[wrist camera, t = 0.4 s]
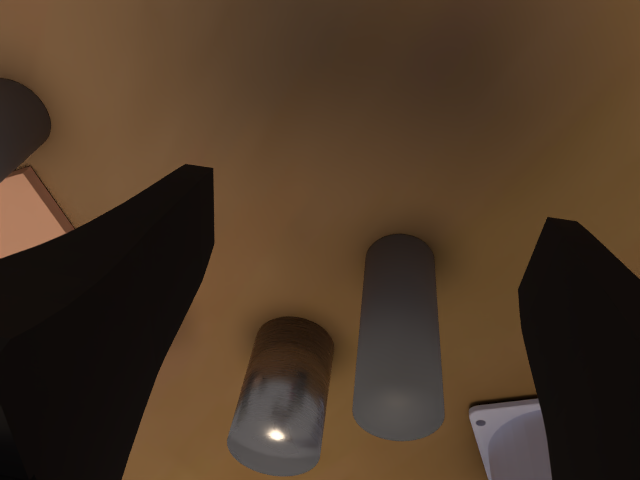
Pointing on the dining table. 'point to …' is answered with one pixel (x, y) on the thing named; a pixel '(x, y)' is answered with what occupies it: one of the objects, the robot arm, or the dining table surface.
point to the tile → (28, 213)
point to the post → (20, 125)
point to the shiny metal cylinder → (283, 399)
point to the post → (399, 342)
